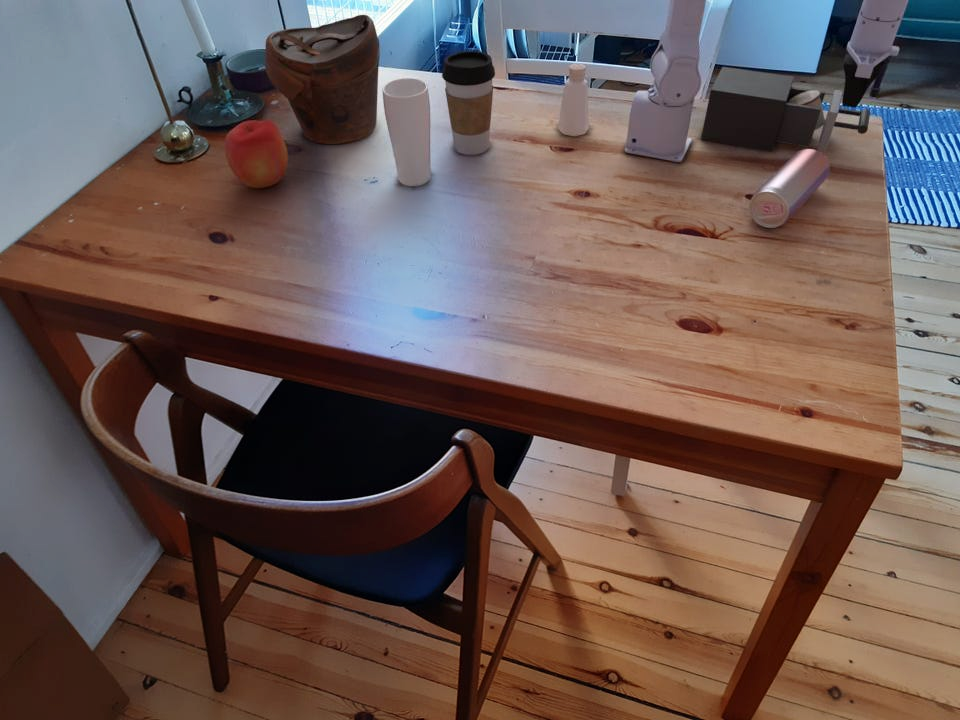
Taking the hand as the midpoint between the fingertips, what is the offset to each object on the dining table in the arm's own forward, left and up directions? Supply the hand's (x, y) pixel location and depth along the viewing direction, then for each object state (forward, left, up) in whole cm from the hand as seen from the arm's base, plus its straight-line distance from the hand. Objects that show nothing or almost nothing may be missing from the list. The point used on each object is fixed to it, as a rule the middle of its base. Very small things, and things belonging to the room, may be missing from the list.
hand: (849, 105), depth 112 cm
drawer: (-4, -1, -6) cm, 7 cm away
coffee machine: (-15, -1, -7) cm, 17 cm away
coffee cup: (-56, -22, -7) cm, 61 cm away
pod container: (-5, -1, -4) cm, 6 cm away
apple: (-82, -45, -7) cm, 94 cm away
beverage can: (-3, -14, -4) cm, 15 cm away
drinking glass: (-60, -35, -7) cm, 70 cm away
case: (-81, -25, -7) cm, 85 cm away
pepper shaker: (-42, -10, -7) cm, 44 cm away
